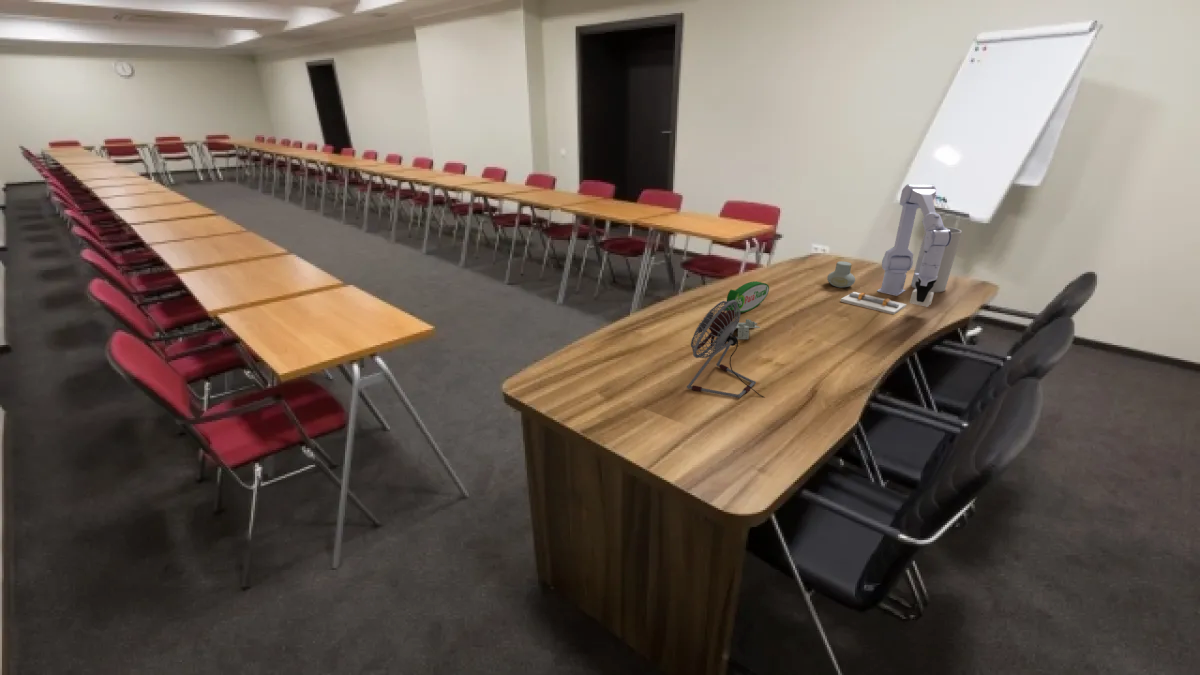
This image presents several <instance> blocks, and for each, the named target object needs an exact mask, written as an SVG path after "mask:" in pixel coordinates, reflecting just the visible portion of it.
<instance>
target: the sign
mask: <svg viewBox="0 0 1200 675" xmlns="http://www.w3.org/2000/svg"><path fill="white" fill-rule="evenodd" d="M769 292H770V287H769V284H767V283H764V282H761V281H755V280H754V281H749V282H747V283H744V284H742V285H740V286H739V287H738V288H736V289H730V290H729V292H728V294H727V296H726V301H732V300H735V301H737V303H738V306H737V307H739V308H737V310H738V309H740V313H746V312H748V311H749V312H750V311H751V310H753V309H755V308H757V307H758V306H759V305H761V303H762V302H764V300H765V299H767V296H768V294H769ZM731 305H732V306H731ZM731 305H729V306H728V307H734V305H733V304H731ZM729 309H730V310H734V309H733V308H726V310H729Z"/></svg>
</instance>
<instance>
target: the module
mask: <svg viewBox="0 0 1200 675" xmlns="http://www.w3.org/2000/svg"><path fill="white" fill-rule="evenodd" d="M934 295H935V292H928V294H927V296H926V298H925V300H924V302H918V301H917V289H915V288H914V289H913V290H912V292H911V295H910V299H909V304H912V305H917V306H922V307H926V308H928V307H929V306H931V304H932V302H933V298H934Z"/></svg>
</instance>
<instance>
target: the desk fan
mask: <svg viewBox="0 0 1200 675" xmlns="http://www.w3.org/2000/svg"><path fill="white" fill-rule="evenodd" d="M731 304H733V305H734V307H728V306H729V305H731ZM731 306H732V305H731ZM737 306H738V303H737V301H735V300H732V301H727V300H722V301H720V302H719V303H717V304H716V305H715V306H714V307H712V308H711V309H710V310H709V311H708V312H707V313H706V314H705V316H704V317H703V319H701V322H699V324H698V326H696V327H697V328H696V329H695V331H694V333H693V336H692V339H691V341H690V347H691V348H692V349H691V350H692V356H693V357H694V358H696V359H699V358H700V359H707V360H706V361H705V362H704V363H703V365H702V366H701V367H700V369H699V370H698V372H696V374H695V375H694V377H693V378H692V379H691V380H690V381H689V384H688V385H686V388H687V390H688V389H689V390H692V391H695V392H706V393H712V394H717V395H723V396H726V397H727V396H728V397H732V398H738V399H741V397H742V396H743V395H745V394H747V393H748V392H749V391H750V390H752V391H754V392H755V393H756V394H757V395H758V396H760V397H762V398H764V399H765V398H766V397H765V396H764V395H762V394H759V392H757V391H756V390H755V389H754V388H752V387H754V386H755V385H756V383H757V382H756V380H752V379H751V378H748V377H746V376H744V375H742V374H741V373H739V372H736V371H735V370H733V367H732V364H731V361H732V356H733V355H734V354H735V352H736V351H737V349H738V346H739V345H738V344H739V339H738V336H736V335H734V332H735V330H737V328H736V327H737V325H738V323H740V320H741V319H740V318H741V312H740V309H738V310H737V308H739V307H737ZM726 308H733V309H734V310H730V309H729V310H726ZM730 323H731V324H730ZM736 324H737V325H736ZM708 330H709V331H710V332H709V331H708ZM706 333H707V336H706ZM709 340H710V341H709ZM707 345H709V346H707ZM735 345H736V346H735ZM731 346H732V347H733V346H735V349H734V350H733V352H732V354H731V355H730V357H729V366H730V368H729V367H728V366H726V365H725V364H721V362H722V360H723V359H724V357H725V356H726V354H727V352H728V351H729V349H730V347H731ZM701 348H702V349H701ZM704 348H706V349H704ZM723 350H724V351H723ZM699 351H700V352H699ZM722 351H723V352H722ZM720 352H722V354H721V356H720V358H718V361H717V363H716V367H719V369H721V370H722V371H725V372H729V373H730V374H733V375H734V376H736V377H737V379H739V381H741V383H743V385H746V386H745V387H744V388H743V389H742V391H741V392H740V393H738V394H736V393H731V392H725V391H719V390H715V389H708V388H704V387H702V386H699V385H695V384H694V383H695V381H696V380H697V379H698V378H699V377H700V375H701V374H702V372H704V370H705V368H706V367H707V366H708V364H709V363H710V362H711V360H712V359H713V358H714V357H715V356H716V355H717V354H718V353H720ZM742 379H743V380H745V381H747V382H748V383H750V384H748V383H745V382H744V381H743V380H742Z"/></svg>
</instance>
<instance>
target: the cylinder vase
mask: <svg viewBox="0 0 1200 675" xmlns="http://www.w3.org/2000/svg"><path fill="white" fill-rule="evenodd" d="M944 227H945V228H947V229H949V230H950V231H951V235H952V237H951V242H950V244H949V245H948V246H945V250H944V253H943V257H942V260H941V264H940V268H939V271H938V275H937V280H936V282H935V283H934V284H933V285H934V286H933V287H932V288H931V290H930V291H929V292H934V293H943V292H944V291H946V288H947V285H948V281H949V278H950V273H951V270H952V268H953V263H954V260H955V256H956V253H957V249H958V247H959V243H960V239H961V236H962V230H961V229H958V228H955V227H950V226H944ZM925 235H926V232H925V231H924V232H923V236H922V240H921V244H920V248H919V252H918V256H917V259H916V263H915V268H914V273H913V276H912V280H911V283H910V285H911V288H913V289H914V290H915V289H917V288H916V285H915V283H916V281H918V282H919V280H918V277H917V276H914V275H915V273H919V271H920V267H921V263H922V259H923V256H924V252H925V250H924V244H925V242H924V238H925Z"/></svg>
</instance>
